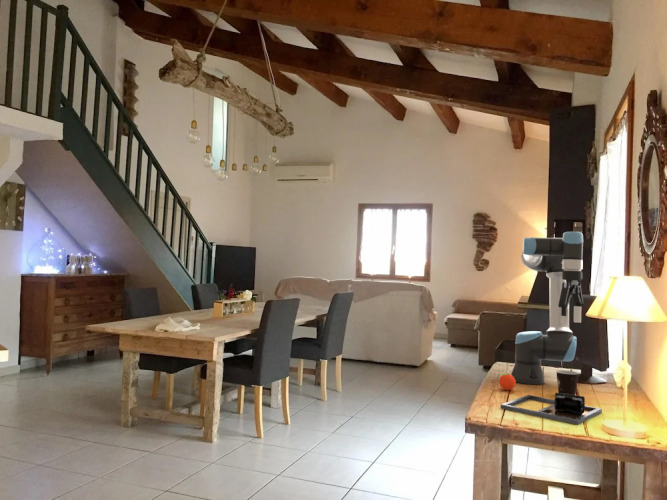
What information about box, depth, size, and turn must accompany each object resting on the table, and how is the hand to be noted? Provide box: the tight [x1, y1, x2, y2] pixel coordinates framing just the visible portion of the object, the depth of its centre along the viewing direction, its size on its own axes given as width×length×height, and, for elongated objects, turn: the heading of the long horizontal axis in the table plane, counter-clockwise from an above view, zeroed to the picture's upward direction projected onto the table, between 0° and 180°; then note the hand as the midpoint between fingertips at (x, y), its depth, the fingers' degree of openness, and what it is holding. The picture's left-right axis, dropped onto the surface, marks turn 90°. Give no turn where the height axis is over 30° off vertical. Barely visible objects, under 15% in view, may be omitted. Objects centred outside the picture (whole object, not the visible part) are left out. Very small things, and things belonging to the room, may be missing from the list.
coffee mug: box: [556, 369, 579, 395], centre depth 237 cm, size 12×9×10 cm
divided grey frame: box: [500, 394, 603, 426], centre depth 213 cm, size 24×28×2 cm
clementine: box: [498, 373, 517, 391], centre depth 247 cm, size 8×7×7 cm
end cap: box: [554, 392, 586, 417], centre depth 209 cm, size 10×7×7 cm
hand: (571, 323), depth 227 cm, fingers open, 13 cm apart
